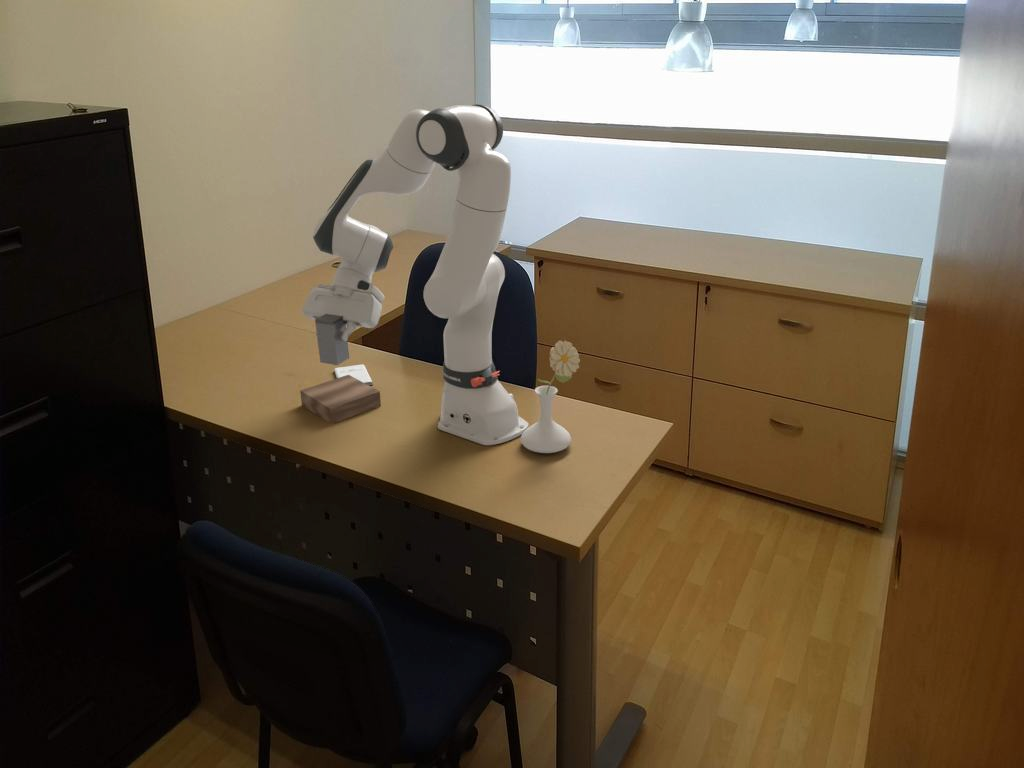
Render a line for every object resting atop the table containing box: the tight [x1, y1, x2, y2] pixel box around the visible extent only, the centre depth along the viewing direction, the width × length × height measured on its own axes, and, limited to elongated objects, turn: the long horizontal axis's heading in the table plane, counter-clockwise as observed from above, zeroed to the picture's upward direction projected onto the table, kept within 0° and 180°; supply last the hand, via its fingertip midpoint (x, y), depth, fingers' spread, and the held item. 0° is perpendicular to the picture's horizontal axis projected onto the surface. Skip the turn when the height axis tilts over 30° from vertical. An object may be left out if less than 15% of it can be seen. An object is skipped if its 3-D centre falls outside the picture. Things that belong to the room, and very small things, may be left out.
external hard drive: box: [334, 363, 374, 386], centre depth 228 cm, size 2×8×12 cm
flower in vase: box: [520, 340, 581, 454], centre depth 189 cm, size 13×11×25 cm
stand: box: [299, 375, 382, 424], centre depth 213 cm, size 14×14×4 cm
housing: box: [314, 314, 350, 366], centre depth 207 cm, size 5×5×11 cm
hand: (330, 338), depth 206 cm, fingers closed on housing, 5 cm apart
